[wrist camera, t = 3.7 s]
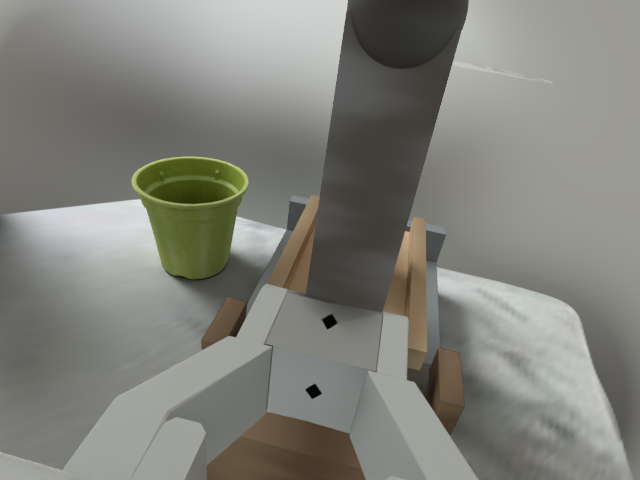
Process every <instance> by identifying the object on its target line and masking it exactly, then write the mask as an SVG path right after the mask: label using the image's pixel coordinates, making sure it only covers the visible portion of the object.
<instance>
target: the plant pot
mask: <svg viewBox="0 0 640 480" xmlns="http://www.w3.org/2000/svg"><path fill="white" fill-rule="evenodd" d="M248 183H249V181H248V177H247V175H246V174H245V173H244V172H243V171H242V170H241V169H239V168H238V167H236V166H234V165H232V164H230V163H227V162H224V161H221V160H216V159H211V158H204V157H177V158H169V159H162V160H158V161H155V162H153V163H150V164H147V165H145V166H144V167H142V168H140V169H139V170H137V171H136V173H135V174H134V175H133V178H132V186H133V189H134V190H135V192H136V193H137V194H138V195H139V196H140V198H141V201H142V204H143V205H144V207H145V208H146V209H147V213H148V216H149V219H150V223H151V226H152V229H153V233H154V237H155V240H156V244H157V248H158V252H159V255H160V259H161V263H162V266H163V267H164V269H165V270H166V271H167V272H168V273H170V274H172V275H174V276H176V275H180V276H184V277H187V278H189V279H202V278H207V277H210V276H213V275H215V274H217V273H219V272H220V271H222V270H223V268H224V266H225V265H226V263H227V262H228V259H229V253H230V248H231V242H232V236H233V230H234V225H235V220H236V214H237V209H238V206H239V205H240V203H241V200H242V195H243V194H244V193H245V192H246V190H247V188H248Z"/></svg>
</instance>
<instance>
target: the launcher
mask: <svg viewBox="0 0 640 480" xmlns="http://www.w3.org/2000/svg"><path fill="white" fill-rule="evenodd" d="M467 10H468V0H348V7H347V13H346V20H345V26H344V33H343V40H342V47H341V54H340V61H339V67H338V74H337V82H336V88H335V95H334V102H333V109H332V116H331V123H330V130H329V137H328V143H327V150H326V157H325V164H324V171H323V178H322V185H321V192H320V197H318V196H313V195H311V197H310V199H309V201H308V203H307V205H306V207H305V209H304V211H303V213H302V215H301V217H300V219H299V221H298V223H297V225H296V227H295V229H294V231H293V233H292V235H291V237H290V239H289V241H288V243H287V245H286V247H285V249H284V251H283V252H282V254H281V256H280V258H279V260H278V262H277V264H276V266H275V268H274V270H273V272H272V274H271V276H270V278H269V280H268V282H267V284H269V285H273V286H277V287H281V288H285V289H288V290H294V291H298V292H302V293H306V294H309V295H313V296H317V297H321V298H325V299H329V300H333V301H336V302H341V303H345V304H349V305H354V306H358V307H362V308H367V309H371V310H376V311H380V312H382V313H383V312H387V313H392V314H396V315H401V316H406V317H408V319H409V336H408V364H407V380H408V381H412V382H415V384H416V385H417V387H418V388H419V390H420V391H421V393H422V394H423V396H424V397H425V395H426V392H427V387H428V380H429V369H428V367H426V366H422V364H423V361H424V359H425V356H426V354H427V295H426V219H421V218H417V217H414V218H413V221H412V225H411V228H410V232H407V231H405V230H406V226H407V223H408V219H409V216H410V212H411V208H412V205H413V201H414V198H415V194H416V190H417V187H418V183H419V180H420V176H421V172H422V169H423V165H424V162H425V159H426V155H427V152H428V148H429V144H430V140H431V137H432V134H433V130H434V126H435V123H436V119H437V116H438V112H439V109H440V105H441V102H442V98H443V94H444V91H445V87H446V84H447V80H448V77H449V73H450V70H451V66H452V62H453V59H454V55H455V52H456V48H457V44H458V41H459V37H460V33H461V30H462V29H463V26H464V23H465V20H466V15H467Z"/></svg>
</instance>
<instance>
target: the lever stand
mask: <svg viewBox="0 0 640 480" xmlns="http://www.w3.org/2000/svg"><path fill="white" fill-rule="evenodd" d="M246 311H247V301H243V300H239V299H234V298H230V297H227V299H226V300H225V302H224V304H223V305H222V307H221V309H220V310H219V312H218V314H217V315H216V317H215V318H214V320H213V322H212V323H211V325H210V327H209V328H208V330H207V332H206V333H205V335H204V337H203V338H202V350H204V349H205V348H207V347H209V346H211V345H213V344H215V343H216V342H218V341H220V340H222V339H224V338H226V337H228V336H232V337H237V335H238V333H239V331H240V329H241V327H242V325H243V323H244V321H245V319H246ZM425 399H426V400H427V402H428V403H429V405H430V406H431V408H432V409H433V411H434V412H435V414H436V416H437V417H438V419H439V420H440V422H441V423H442V425H443V426H444V428H445V429H446V431H447V432H448V434H449V435H451V433H452V431H453V429H454V427H455V425H456V423H457V421H458V419H459V417H460V415H461V413H462V411H463V409H464V407H465V405H464V394H463V384H462V373H461V363H460V353H458V352H454V351H450V350H446V349H442V348H438V349H437V352H436V354H435V357H434V359H433V362H432V364H431V367H430V369H429V380H428V387H427V392H426V395H425ZM207 480H366V479H365V476H364V474H363V471H362V468H361V466H360V463H359V460H358V457H357V455H356V452H355V449H354V447H353V444H352V441H351V439H350V434H349V433H346V432H342V431H339V430H336V429H332V428H329V427H325V426H322V425H319V424H315V423H312V422H308V421H304V420H300V419H296V418H292V417H288V416H283V415H279V414H275V413H271V412H266V414H265V415H264V416H263V417H262V418H260V419H259V420H258V421H257V422H256V423H255V424H254V425H252V426H251V427H250V428H249V429H248V430H247V431H246V432H244V433H243V434H242V435H241V436H240V437H239V438H238V439H236V440H235V441H234V442H233V443H232V444H231V445H230V446H228V447H227V448H226V449H225V450H224V451H223V452H222V453H220V454H219V455H218V456H217V457H216V458H215V459H214V460H212V461H211V462H210V463H209V464H208V465H207Z"/></svg>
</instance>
